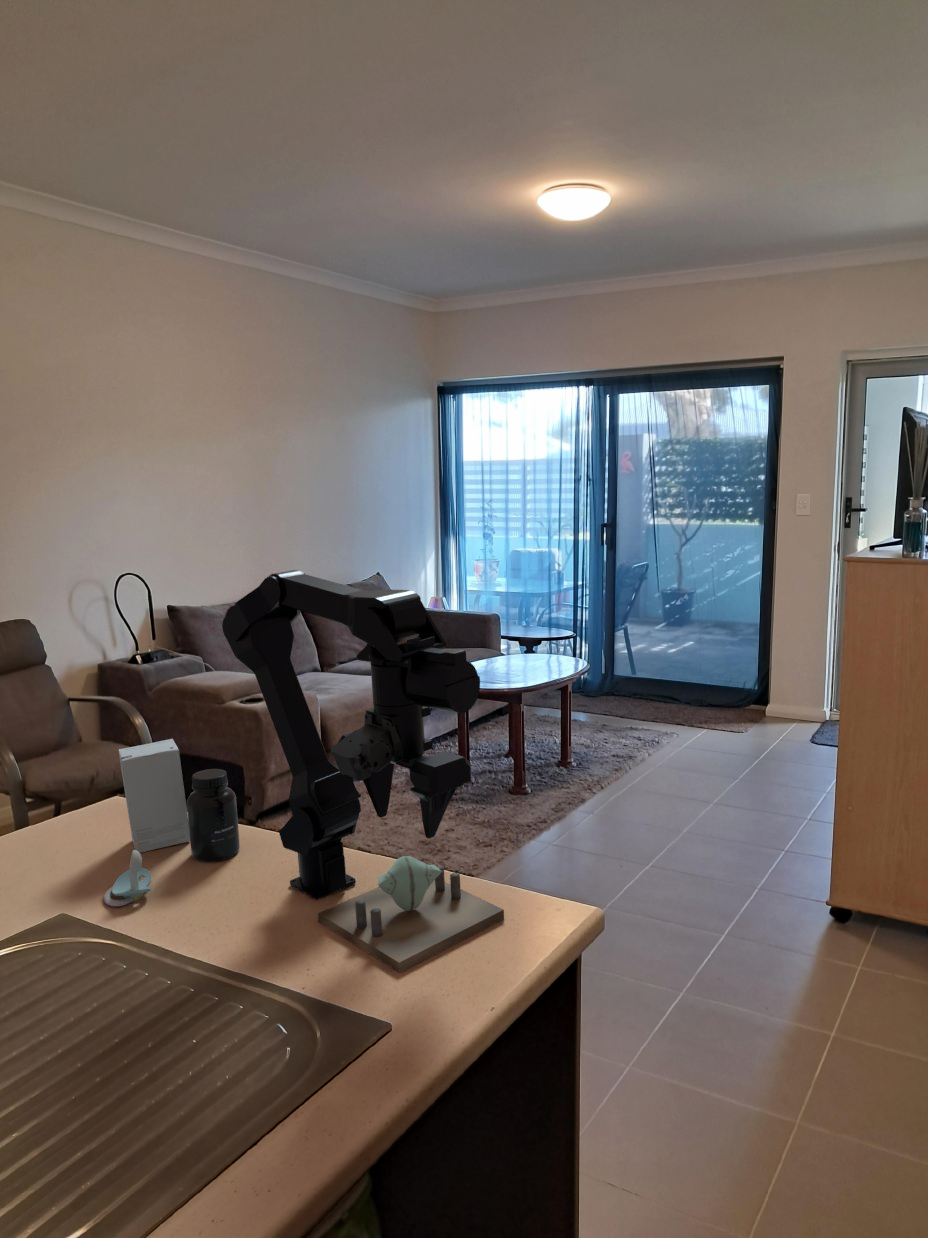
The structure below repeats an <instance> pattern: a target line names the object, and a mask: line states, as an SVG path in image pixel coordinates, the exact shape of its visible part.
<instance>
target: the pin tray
mask: <svg viewBox="0 0 928 1238" xmlns="http://www.w3.org/2000/svg"><path fill="white" fill-rule="evenodd" d="M435 866H436V867H438V868H439V869H440V870H441V871H442V872H441V873H440V874H439V875H438V877H437V878H436V879H435V880H434V881H433V882H432V883H431V884H430V886H429V887H428V889H427V891H426V892H425V895H424V898H423V901H422V902H421V904H420V905H419V907H418V908H416V909H414V910H412V911H405V910H403V909H402V908H400V907H399V906H397V905H396V903H395V902H394V900H393V898H392V897H391V895H389V894H387V893H386V892H384V891H383V890H382V889H381V888H380V887H379V886H378V887H374V888H373V889H370V890H368V891H365V892H364V893H361V894H359V895H356V896H354V897H352V898H349V899H347V900H344V901H343V902H340V903H338V904H336V905H333V906H331V907H329V908H327V909H324V910H322V911H319V912H317V921H318V923H319V924H321V925H322V926H323V927H325V928H327V929H329V930H330V931H332V932H334V933H335V934H337V935H338V936H340V937H342V938H343V939H345V940H347V941H348V942H350V943H352V944H353V945H354V946H356V947H358V948H359V949H361V950H363V951H364V952H366V953H368V954H369V955H371V956H372V957H374V958H376V959H377V960H378V961H380V962H382V963H384V964H385V965H387V966H388V967H390V968H392V969H393V970H395V971H397V972H398V973H402V972H403V971H406V970H408V969H409V968H411V967H413V966H416V965H417V964H419V963H421V962H423V961H425V960H427V959H429V958H431V957H433V956H435V955H436V954H438V953H441V952H443V951H444V950H446V949H448V948H450V947H452V946H454V945H456V944H457V943H460V942H462V941H464V940H466V939H469V938H470V937H472V936H475V934H478V933H480V932H481V931H483V930H486V929H487V928H489V927H491V926H493V925H495V924H497V923H499V922H501V921H503V920H505V909H503V908H501V907H499V906H497V905H495V904H493V903H491V902H488V901H487V900H485V899H482V898H481V897H478V896H476V895H474V894H472V893H469V892H468V891H466V890H464V889H461V877H460V876H461V875H460V873H459V872H452V873H450V874H449V877H450V878H449V879H450V881H449V882H450V883H449V882H447V881H445V867H444V866H443V865H435Z"/></svg>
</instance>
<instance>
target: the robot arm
mask: <svg viewBox="0 0 928 1238" xmlns="http://www.w3.org/2000/svg"><path fill="white" fill-rule="evenodd" d="M301 612H303V613H306V614H310V615H312V616H316V617H320V618H322V619H326V620H330V621H332V622H336V623H339V624H341V625H344V626H345V627H347V628H348V630H349V631H350V633H351V634H352V635H353V637H354V638H356V639H358V640H360V641H362V642H363V643H366V645H365V646H364V648H363V649H361V650H360V651H359V652H358V653H357V654H356V659H357V660H358V661H360V662H368V663H369V664H370V674H371V675H370V676H371V692H372V707H373V708H369V709H366V710H365V712H366V713H365V714H364V725H363V726H362V727H360V728H358V729H356V730H353V731H352V732H349V733H346V734H342V735H341V737H340V738H339V740H338V741H337V743H336V744H335V745H333V746H332V747H331V749H330V752H331V754H332V756H333V759H334V761H335V764H336V766H337V767H336V766H335V765H334V764H333V763H332V762H331V761H330V760H329V758H328V755H327V752H326V750H325V747H324V744H323V741H322V740H321V736H320V733H319V731H318V728H317V726H316V723H315V719H314V718H313V715H312V712H311V710H310V707H309V704H308V702H307V699H306V697H305V694H304V691H303V688H302V686H301V684H300V681H299V679H298V676H297V672H296V670H295V668H294V664H293V662H292V658H291V657H292V651H293V646H294V641H295V634H294V631H293V625H292V623H294V622H295V621H296V619H297V618H298V617H299V616H300V614H301ZM221 627H222V633H223V635H224V637H225V639H226V641H227V642H228V645H229V646H230V649H231V651H232V652H233V655H234V657H235V658H236V659H237V660H239V661H240V662H241V663H242V664H243V665H245V666H246V667H247V668H248V669H249V670H250V671H252V672H253V674H254V676H255V678H256V681H257V684H258V687H259V689H260V692H261V694H262V697H263V701H264V702H265V705H266V707H267V710H268V713H269V716H270V718H271V722H272V724H273V726H274V729H275V733H276V735H277V738H278V740H279V742H280V745H281V748H282V752H283V754H284V757H285V760H286V762H287V764H288V768H289V769H290V773H291V776H292V778H291V783H290V789H289V795H288V803H289V807H290V810H291V815H292V816H291V817H290V818H289V820H288V821H287V822H286V823H285V824H284V825H283V827H282V828H281V829H280V830H279V832H278V834H279V837H280V840H281V843H282V847H283V848H284V849H287V850H289V851H292V852H294V853H297V861H298V873H299V876H298V877H295V878H293V879H290V880H289V885H290V886H291V887H294V888H295V889H297V890H298V891H299V892H301V893H303V894H305V895H307V896H309V897H310V898H312V899H313V900H318V899H321V898H324V897H326V896H329V895H331V894H333V893H335V892H339V891H340V890H342V889H345V888H347V887H350V886H352V885H355V884H356V878H355V877H353V876H351V875H349V874H347V871H346V869H347V867H346V857H345V854H344V842H343V841H342V839H343V838H345V837H347V836H350V835H354V834H355V832H356V827H357V823H358V820H359V816H360V814H361V813H362V806H361V802H360V798H361V797H362V796H361V794H360V793H359V791H358V790H357V787H356V785H355V782H354V780H355V781H363V782H362V783H363V784H364V786H365V788H366V790H367V793H368V796H369V797H370V800H371V803H372V805H373V809H374V810H375V812H376V815H377V817H379V818H384V817H385V816H387V815H388V811H389V806H390V799H391V792H392V791H391V790H392V786H393V785H392V783H393V776H394V770H395V765H397V766H400V767H402V768H406V769H408V770H409V780H410V782H411V783H412V785H413V787H410V788H409V791H411V792H412V793H413V794H414V795H415V796H417V798H418V799H419V803H420V804H419V805H420V810H421V818H422V819H421V820H422V825H423V830H424V835H425V839H431V838H434V837H435V836H436V834H437V831H438V829H439V827H440V824H441V823H442V820H443V818H444V816H445V813H446V810H447V808H448V806H449V804H450V802H451V800H452V799H453V796H454V795H455V793H456V791H457V789H458V788H460V787H463V786H464V785H465V783H468V782H471V781H472V763H471V762H470V761H469V760H468V759H467V758H466V757H465V756H462V755H461V754H460V755H459V754H457V753H454V752H450V751H447V750H443V751H440V752H438V753H434V754H431V755H428V756H426V755H425V752H427V751H429V750H433V740H432V739H429V738H425V726H424V725H425V724H424V717H428V716H431V713H432V712H431V709H435V710H441V711H445V712H451V713H457V714H464V713H467V712H469V710H471V709H472V708H473V706H475V703H476V702H477V700H478V697H479V693H480V689H481V677H480V676H479V674H478V671H477V669H476V667H475V665H474V664H472V663H471V662H470V661H467V652H466V650H465V649H457V648H455V649H447V642H446V641H445V639H444V637H443V636H442V632H440V630H439V629H438V627H437V626H436V624H435V622H434V620H433V619H432V617H431V616H430V613H429V612H428V611H427V609H426V607H425V605H424V604H423V602H422V600H421V596H420V595H419V594H418V593H417V592H416V591H413V590H411V589H410V590H409V589H377V590H366V589H360V588H356V587H353V586H350V585H346V584H342V583H338V582H334V581H331V580H327V579H323V578H319V577H316V576H313V575H309V574H306V572H303V571H301V570H298V569H292V570H286V571H282V572H281V571H280V572H275V573H271V574H269V575H268V576H267V577H265V578H264V579H263V580H262V582H261V583H260V584H259V585H258V586H257V587H256V588H254V589H253V590H252V591H250V592H248V593H247V594H246V595H244V596H243V597H241V598H240V599H238V601H236V602H235V604H234V605H232V606H230V607H229V608H228V609H227V610H226V612H225V615H224V617H223V620H222V624H221ZM416 638H419V639H416ZM413 639H415V640H413ZM409 640H412V641H409ZM405 641H407V642H405ZM402 642H404V643H402ZM398 643H399V644H398Z"/></svg>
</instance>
